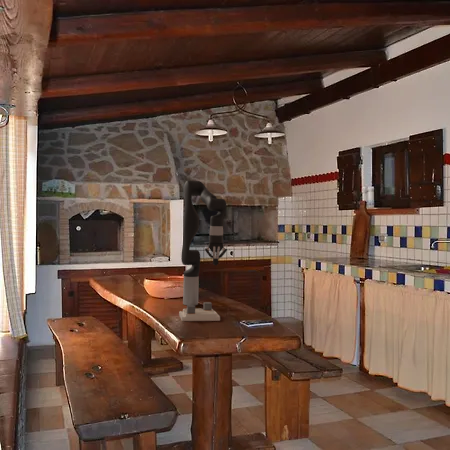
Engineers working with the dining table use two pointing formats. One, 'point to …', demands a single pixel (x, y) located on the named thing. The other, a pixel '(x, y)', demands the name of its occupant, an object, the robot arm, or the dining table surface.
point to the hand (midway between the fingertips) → (215, 265)
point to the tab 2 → (207, 306)
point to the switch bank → (199, 315)
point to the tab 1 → (190, 309)
